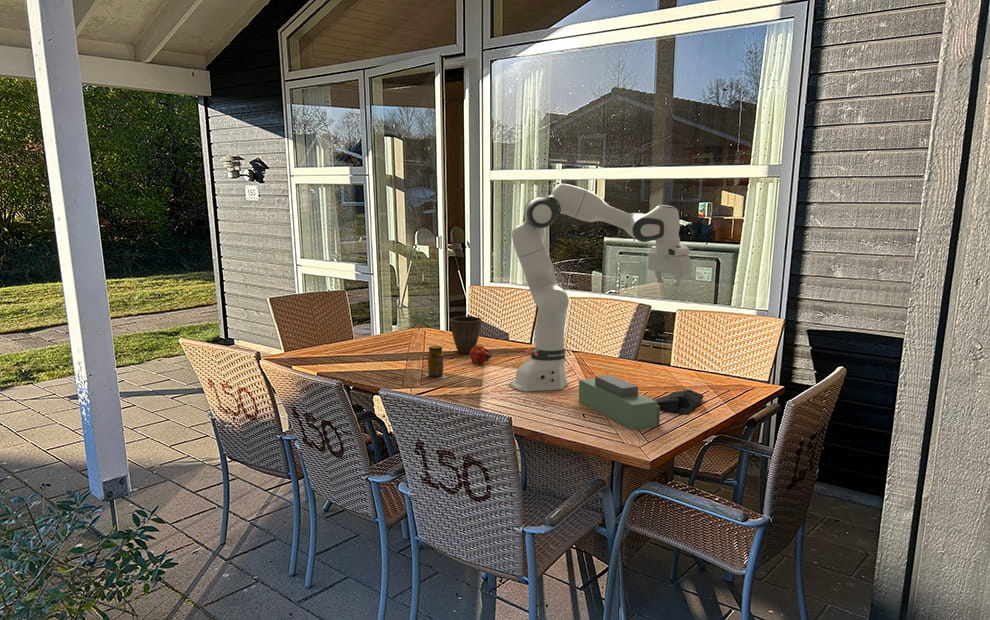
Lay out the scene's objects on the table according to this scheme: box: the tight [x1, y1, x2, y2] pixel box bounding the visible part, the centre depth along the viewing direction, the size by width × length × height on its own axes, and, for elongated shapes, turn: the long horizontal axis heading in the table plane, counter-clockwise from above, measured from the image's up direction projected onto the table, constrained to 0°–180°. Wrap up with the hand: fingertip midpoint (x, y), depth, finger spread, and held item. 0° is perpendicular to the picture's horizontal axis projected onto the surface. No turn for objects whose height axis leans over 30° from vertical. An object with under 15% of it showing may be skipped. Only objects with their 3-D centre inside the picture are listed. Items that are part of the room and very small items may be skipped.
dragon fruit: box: [467, 344, 492, 365], centre depth 282 cm, size 8×8×12 cm
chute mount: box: [578, 374, 661, 431], centre depth 212 cm, size 11×32×11 cm, turn 23°
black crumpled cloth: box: [654, 389, 704, 415], centre depth 223 cm, size 15×22×5 cm
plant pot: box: [449, 316, 483, 355], centre depth 303 cm, size 15×15×16 cm
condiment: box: [424, 345, 448, 380], centre depth 259 cm, size 7×8×12 cm
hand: (668, 284), depth 244 cm, fingers open, 8 cm apart
